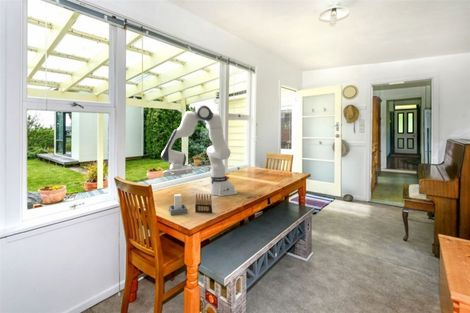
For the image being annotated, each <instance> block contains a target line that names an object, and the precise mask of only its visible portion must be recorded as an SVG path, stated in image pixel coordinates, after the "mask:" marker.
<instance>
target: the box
mask: <svg viewBox="0 0 470 313" xmlns="http://www.w3.org/2000/svg"><path fill="white" fill-rule="evenodd" d="M168 211H169V214H170V215H171V216H176V215H183V214H188V208H187V205H186V204H185V203H183V204H182V209H175V210H174V204H173V205H168Z"/></svg>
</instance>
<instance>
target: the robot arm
mask: <svg viewBox="0 0 470 313" xmlns="http://www.w3.org/2000/svg"><path fill="white" fill-rule="evenodd" d="M199 121H205V122H206V123H207V127H208V138H209V140H210V142H211V143H212V145H209V146H208V147H206V148H207V149H206V154H207V156H208V159H209V162H210V169H211V170H210V173H211V176H210V183H211V184H210V191H209V195H210V194H211V196H219V197H223V196H224V197H225V196H231V195H237V194H238V190H237V189H235V185H234V184H233V183H231V182H230V181H229V180H230V177H229V176H227V175H226V166H225V164H224V162H223V161H224V160H227V159H229V158H230V157H231V149H230V148H229V147H228V146H227V143H226V140H225V137H224V130H223V123H222V118H221V116H220V114H218V113H214V112H213V111H212V110H211V108H210V107H209V106H208V105H200V106H198V107H197V108H196V109H195V110H194V111H193V110H192V111H191V110H188V111H186V112H185V113H184V115H183V116H182V119H181V122H180V125H179V127H177V128H175V129H174V130H173V132H172V133H171V135H170V136H169V139H168V142H167V143H166V144H165V147H164V149H163V150H162V152H161V154H160V158H161V159H162V161H163V162H166V163H170V165H169V168H168V169H165V170H163V171H162V173H163V176H164V177H171V176H173V177H176V178H177V177H181V176H183V175H188V174H193V172H194V171H193V167H192V166H189V164H186V161H187V156H186V154H185V152H183V151H178V150H175V149H172V147H173V145H174V143H175V142H176V140H177V139H180V138H188V137H191V136H192V135H193V134H194V132H195V130H196V125H197V123H198V122H199Z"/></svg>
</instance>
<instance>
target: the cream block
mask: <svg viewBox="0 0 470 313" xmlns="http://www.w3.org/2000/svg"><path fill="white" fill-rule="evenodd" d="M173 202H174V203H173V205H174V210H175V209H182V194H181V193H176V194H173Z"/></svg>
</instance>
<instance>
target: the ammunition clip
mask: <svg viewBox="0 0 470 313" xmlns="http://www.w3.org/2000/svg"><path fill="white" fill-rule="evenodd" d="M194 202H195V206H194V207H195V209H194V212H195V213H204V214H212V213H213V204H212V203H213V201H212V195H211V194H210V193H209V194H208V193H207V194H206V193H204V194H203V193H201V194H200V193H195V201H194Z"/></svg>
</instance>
